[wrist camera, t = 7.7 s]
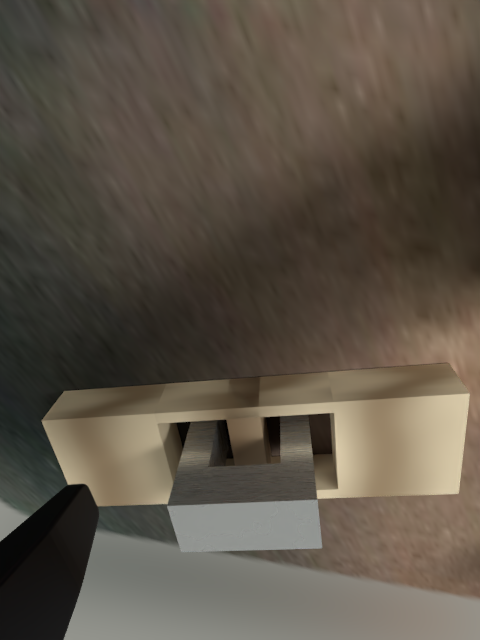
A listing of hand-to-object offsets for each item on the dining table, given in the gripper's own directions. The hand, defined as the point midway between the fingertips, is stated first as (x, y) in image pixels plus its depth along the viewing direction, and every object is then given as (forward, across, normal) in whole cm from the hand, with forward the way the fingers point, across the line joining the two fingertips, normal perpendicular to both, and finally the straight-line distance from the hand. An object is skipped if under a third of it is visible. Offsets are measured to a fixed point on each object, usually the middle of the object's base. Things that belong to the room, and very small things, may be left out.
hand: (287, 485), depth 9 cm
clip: (+12, +3, +8) cm, 14 cm away
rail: (+12, +3, +8) cm, 14 cm away
